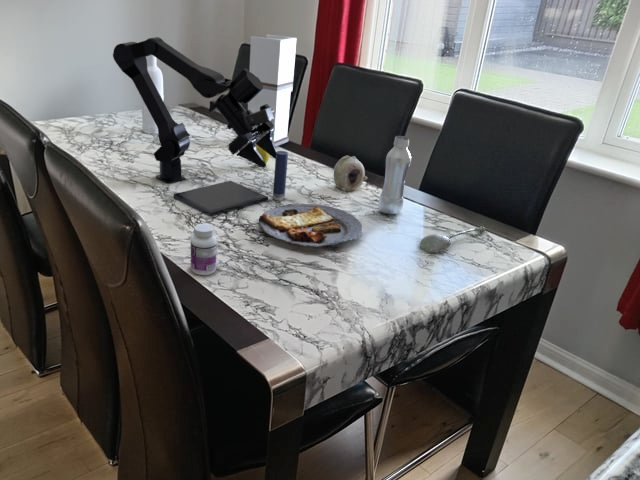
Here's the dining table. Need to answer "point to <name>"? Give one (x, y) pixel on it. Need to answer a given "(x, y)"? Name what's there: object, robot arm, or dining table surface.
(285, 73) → the white tower box
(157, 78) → the bottle
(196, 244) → the pill bottle
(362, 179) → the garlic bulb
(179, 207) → the dining table surface
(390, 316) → the dining table surface
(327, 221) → the food plate
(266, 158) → the lemon
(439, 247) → the soupspoon
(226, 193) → the tablet
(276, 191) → the dark blue cylinder
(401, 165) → the plastic bottle
